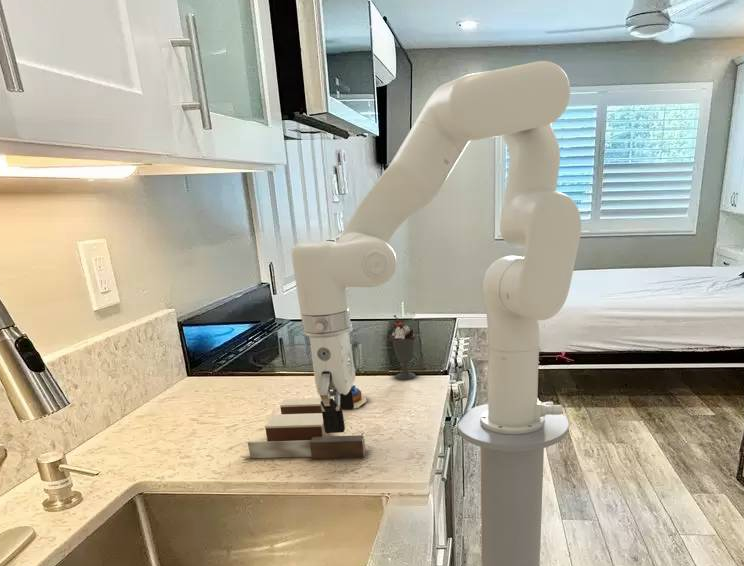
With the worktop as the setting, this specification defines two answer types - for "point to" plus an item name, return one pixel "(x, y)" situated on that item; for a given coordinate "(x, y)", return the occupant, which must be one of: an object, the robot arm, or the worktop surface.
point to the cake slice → (301, 406)
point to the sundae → (403, 348)
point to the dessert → (357, 397)
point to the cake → (295, 427)
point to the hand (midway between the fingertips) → (340, 420)
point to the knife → (311, 448)
